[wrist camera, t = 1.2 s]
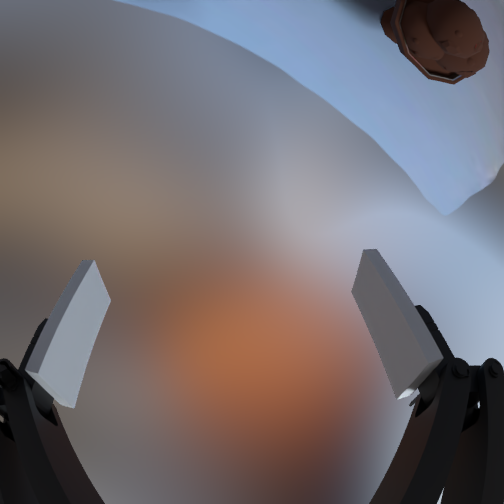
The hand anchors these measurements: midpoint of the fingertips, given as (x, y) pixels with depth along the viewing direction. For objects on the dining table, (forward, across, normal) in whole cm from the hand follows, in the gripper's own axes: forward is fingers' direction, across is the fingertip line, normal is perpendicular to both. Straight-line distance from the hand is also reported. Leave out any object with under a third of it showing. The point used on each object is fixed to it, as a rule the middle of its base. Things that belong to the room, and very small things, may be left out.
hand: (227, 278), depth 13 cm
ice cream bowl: (+21, +20, +20) cm, 35 cm away
